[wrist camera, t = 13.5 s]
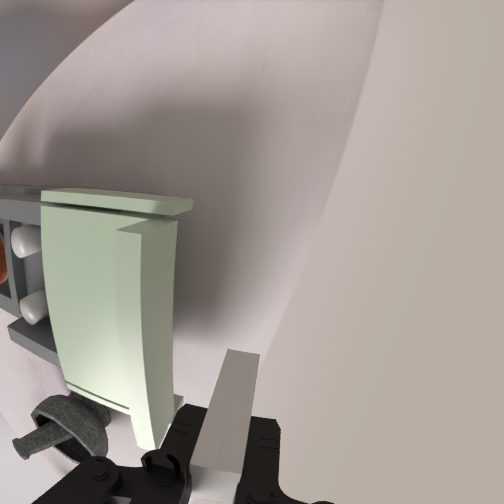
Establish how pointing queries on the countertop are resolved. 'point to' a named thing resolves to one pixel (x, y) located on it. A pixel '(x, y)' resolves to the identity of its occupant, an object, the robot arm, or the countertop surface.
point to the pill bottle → (2, 260)
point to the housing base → (30, 267)
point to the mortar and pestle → (67, 428)
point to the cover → (114, 300)
